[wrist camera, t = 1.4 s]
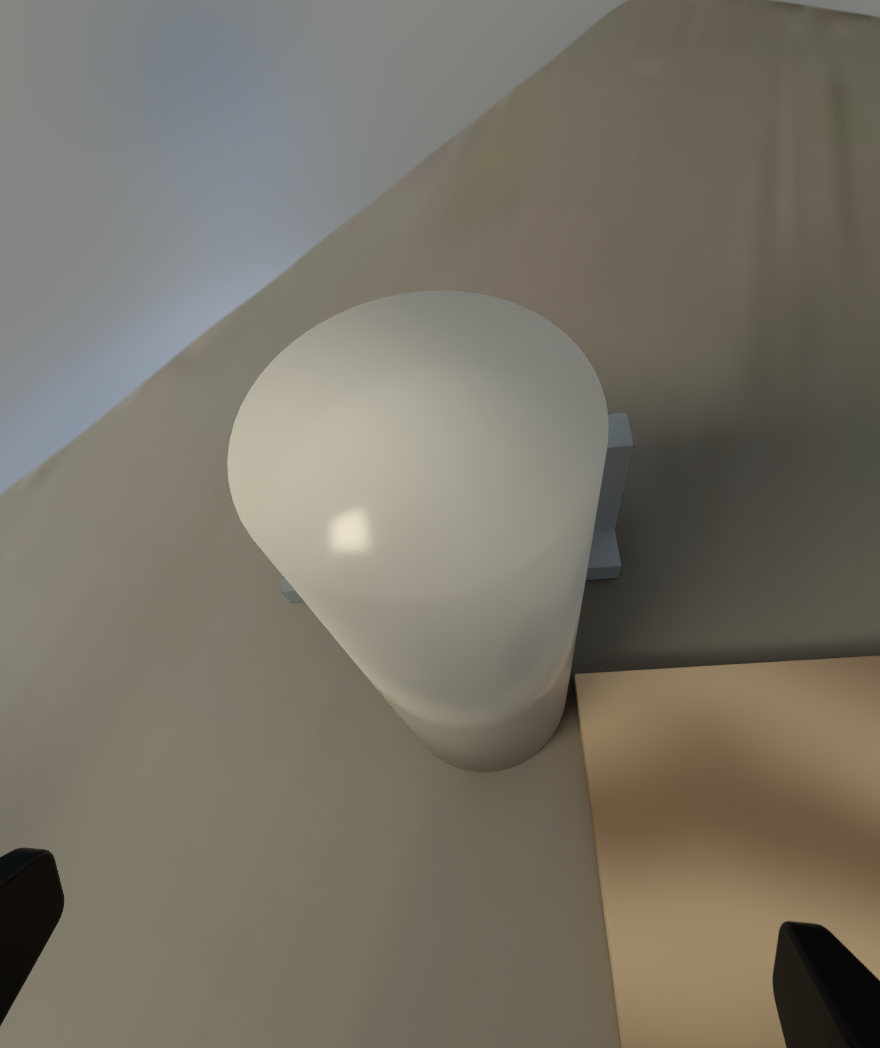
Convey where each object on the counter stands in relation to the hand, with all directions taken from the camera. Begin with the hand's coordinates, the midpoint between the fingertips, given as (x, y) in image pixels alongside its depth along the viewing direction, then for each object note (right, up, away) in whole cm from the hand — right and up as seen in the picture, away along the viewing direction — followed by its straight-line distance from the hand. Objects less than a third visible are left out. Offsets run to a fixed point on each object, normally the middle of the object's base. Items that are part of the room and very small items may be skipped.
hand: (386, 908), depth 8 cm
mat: (+10, -4, +10) cm, 15 cm away
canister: (+2, -1, +14) cm, 14 cm away
